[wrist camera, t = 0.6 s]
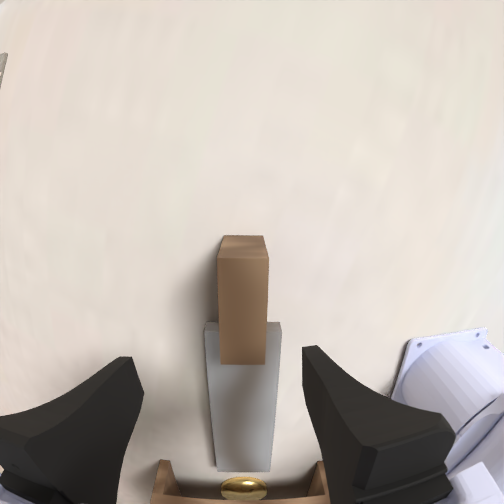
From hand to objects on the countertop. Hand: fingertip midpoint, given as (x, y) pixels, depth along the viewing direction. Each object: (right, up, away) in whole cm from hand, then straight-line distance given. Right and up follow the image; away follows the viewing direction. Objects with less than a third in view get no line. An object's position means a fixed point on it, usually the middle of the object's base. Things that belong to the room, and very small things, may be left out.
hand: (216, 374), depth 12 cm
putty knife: (+1, -5, +10) cm, 11 cm away
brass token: (+1, -21, +15) cm, 26 cm away
